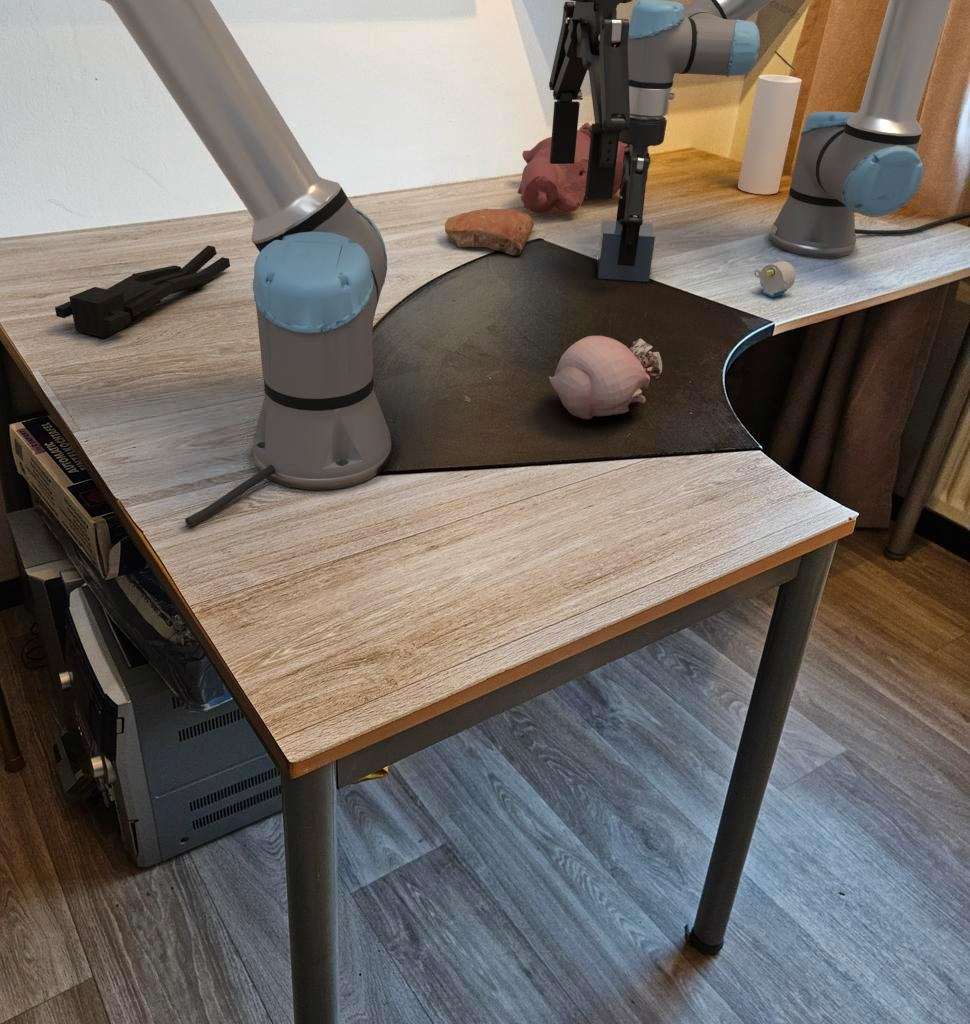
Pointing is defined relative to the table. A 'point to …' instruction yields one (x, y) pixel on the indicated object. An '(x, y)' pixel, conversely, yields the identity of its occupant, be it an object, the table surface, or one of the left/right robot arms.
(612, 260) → the grey cube
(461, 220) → the ceramic shard
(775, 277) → the electric motor
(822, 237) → the right robot arm
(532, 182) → the reddish clay animal figure
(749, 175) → the tall white tube
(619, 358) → the toy
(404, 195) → the table surface
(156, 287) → the toy
